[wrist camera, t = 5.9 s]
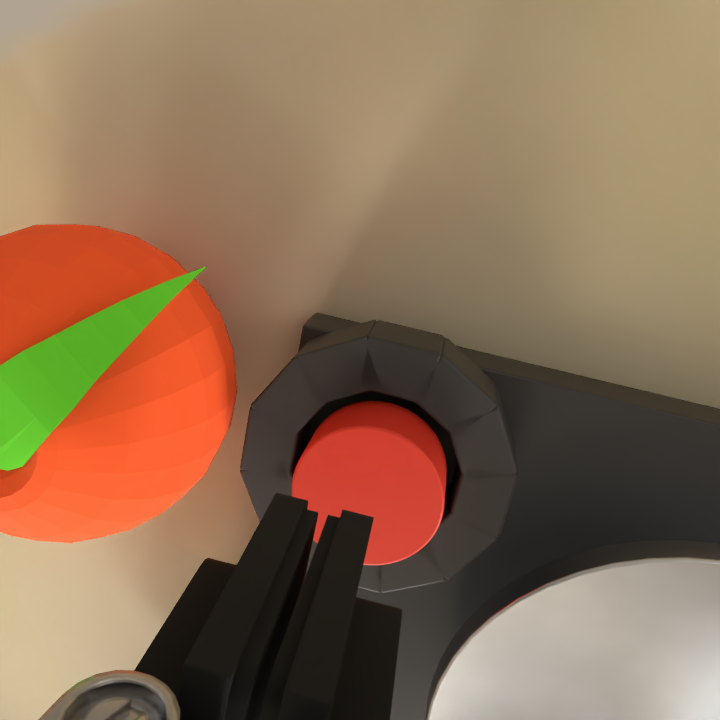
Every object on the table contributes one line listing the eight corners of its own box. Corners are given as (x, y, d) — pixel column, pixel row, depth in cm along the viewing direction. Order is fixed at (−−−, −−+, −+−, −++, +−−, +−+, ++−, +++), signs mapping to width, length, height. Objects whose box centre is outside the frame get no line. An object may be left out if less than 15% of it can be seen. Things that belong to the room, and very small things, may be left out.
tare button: (296, 508, 16) (279, 543, 14) (321, 384, 15) (305, 409, 13) (428, 543, 15) (424, 583, 14) (462, 419, 14) (461, 449, 13)
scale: (226, 696, 21) (188, 779, 18) (299, 286, 17) (264, 311, 14) (756, 853, 20) (804, 969, 17) (979, 446, 15) (1093, 510, 13)
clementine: (181, 125, 16) (-21, 99, 10) (356, 346, 17) (284, 463, 10) (-15, 316, 19) (-289, 403, 12) (147, 501, 20) (-22, 679, 13)
